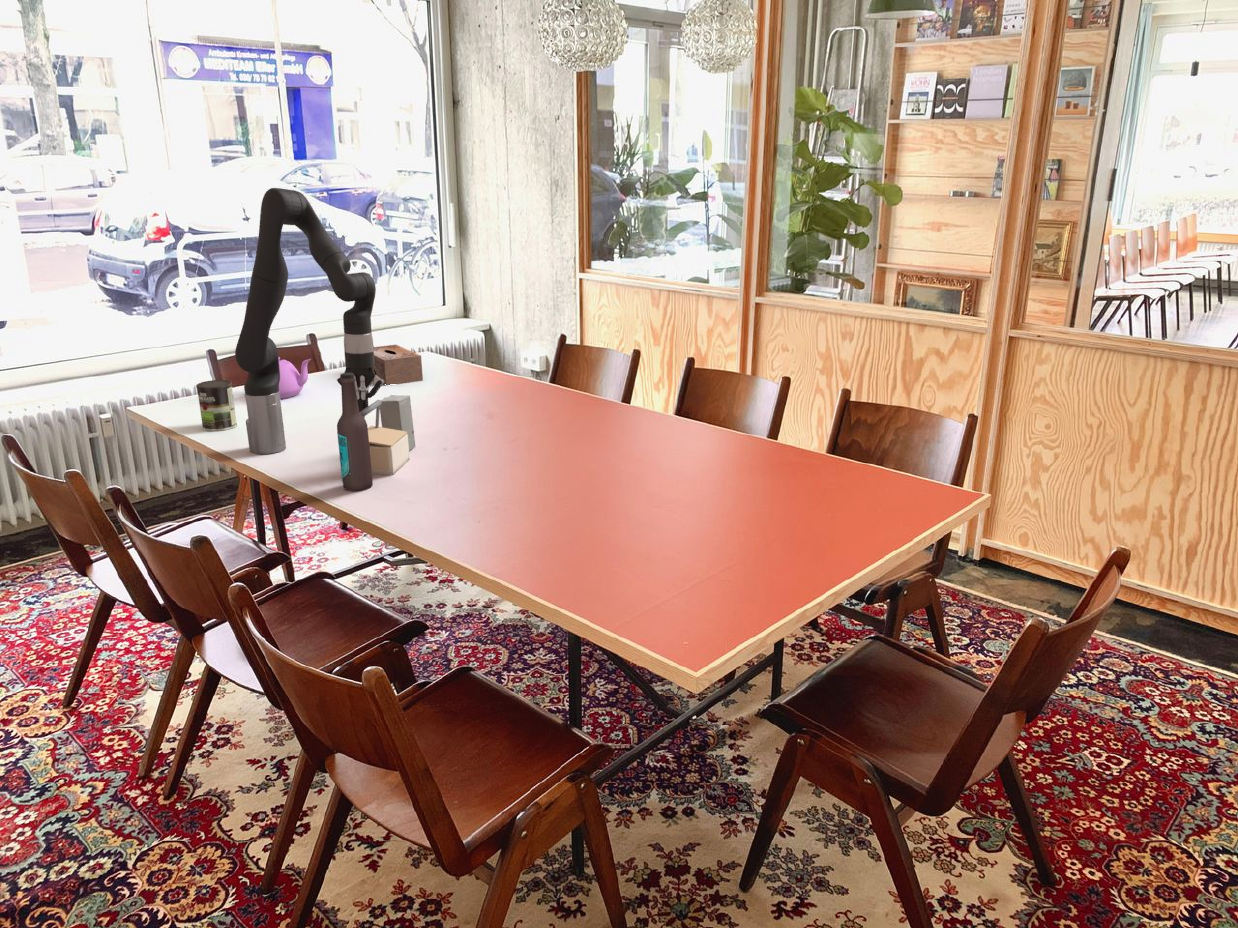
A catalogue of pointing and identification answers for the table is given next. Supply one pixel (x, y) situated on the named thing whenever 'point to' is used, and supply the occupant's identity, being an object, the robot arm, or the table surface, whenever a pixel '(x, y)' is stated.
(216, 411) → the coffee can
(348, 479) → the beer bottle
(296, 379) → the teapot
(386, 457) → the carton
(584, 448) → the table surface
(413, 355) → the tissue box cover
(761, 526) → the table surface
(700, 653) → the table surface
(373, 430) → the flap
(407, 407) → the skincare box
